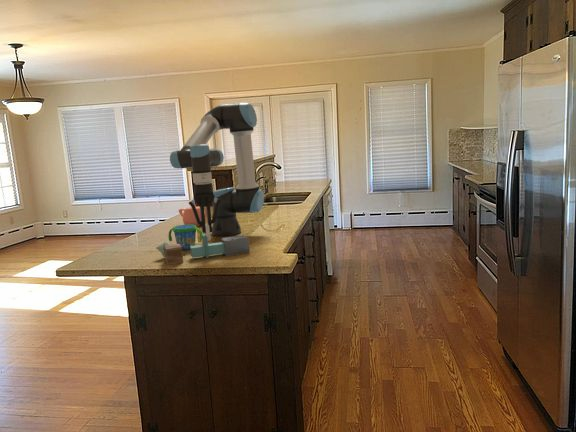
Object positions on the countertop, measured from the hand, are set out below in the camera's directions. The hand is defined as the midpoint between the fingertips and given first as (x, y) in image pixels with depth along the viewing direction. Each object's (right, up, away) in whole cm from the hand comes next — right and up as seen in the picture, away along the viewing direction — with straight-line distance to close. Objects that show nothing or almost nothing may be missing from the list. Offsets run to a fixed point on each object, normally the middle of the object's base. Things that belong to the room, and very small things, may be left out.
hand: (208, 240), depth 190 cm
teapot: (-21, +4, +79) cm, 82 cm away
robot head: (-18, -8, +4) cm, 20 cm away
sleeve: (+11, -6, +5) cm, 13 cm away
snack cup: (-13, -5, +20) cm, 24 cm away
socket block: (-13, -8, -4) cm, 16 cm away
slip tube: (+5, -6, +3) cm, 8 cm away
